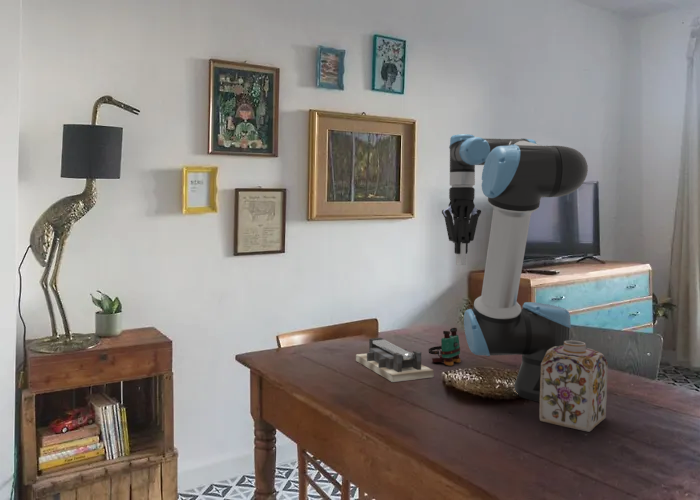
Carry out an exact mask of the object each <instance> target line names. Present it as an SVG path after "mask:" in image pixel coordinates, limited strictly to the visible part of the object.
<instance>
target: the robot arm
mask: <svg viewBox="0 0 700 500" xmlns="http://www.w3.org/2000/svg"><path fill="white" fill-rule="evenodd" d="M449 139H450V140H449V147H448V148H449V186H450V188H449V189H448V191H449V193H448V194H449V195H448V198H449V204H448V207H447V208H446V209H441V214H442V216H443V218H444V220H445V226H446V227H445V228H446V233H447V237H448V241H449V242H452V243H454V254H455V255H456V258H455V259H456V265H457V266H458V265H459V266H465V265H466V256H467V254H468V250H469V249H468V245H469V244H470V243H471V242H472V241H474V239H475V234H476V231H477V225H478V221H479V217H480V215H481V213H482V210H481V209H478V208H477V207H475V206H476V205H475V203H474V200H475V195H476V194H475V192H476V190H475V188H474V187H473V186H475V184H476V178H475V177H476V168H475V167H476V166H483V168H482V173H481V180H482V181H481V190H482V193H483V195H484V196H485V197H487V203H488V205H490V206H491V208H492V217H491V225H490V232H489V239H488V245H487V252H486V253H487V254H486V260H485V266H484V274H483V281H482V289H481V295H479V296H478V297H477V298H475V300H474V302H473V308H468V309H466V310H465V312H464V314H463V327H464V333H465V339H466V343H467V346H468V348H469V350H470V352H471V353H472V354H473V355H475V356H487V357H490V356H521V364H520V368H519V370H518V373H517V377H516V379H515V381H514V388H515V390H516V392H517V393H518V395H519V397H520V398H522V399H525V400H530V401H534V402H539V403H540V378H541V363H542V361H543V358H544V357H545V355H546V352H547V350H549V349H550V348H552V347H555V346H564V341H571V329H572V326H571V314H570V312H569V310H567V309H566V308H564V307H561V306H557V305H553V304H547V303H542V302H533V301H532V302H531V301H525V302H524V303H523V304H522V306H521V305H520V304H519V302H518V301H517V299H518V294H519V288H520V283H521V276H522V270H523V266H524V265H523V263H524V258H525V252H526V247H527V240H528V234H529V228H530V224H531V223H530V221H531V215H532V213H534V212H536V211H537V210H539V208H540V203H541V200H542V198H559V197H565V196H568V195H571V194H573V193H574V192H575V191H577V190H578V189H579V188H580V187H581V186H582V185H583V184H584V182H585V180H586V178H587V176H588V169H589V168H588V167H589V166H588V161H587V160H586V157H585V156H584V155H583V154H582V153H581V152H580V151H579V150H577V149H575V148H573V147H570V146H564V145H542V144H537V141H536V140H534V139H529V138H483V137H478V136H475V135H473V134H467V133H463V134H462V133H459V134H453V135H451V136H450V138H449ZM518 395H517V396H518Z"/></svg>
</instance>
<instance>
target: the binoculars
mask: <svg viewBox="0 0 700 500" xmlns="http://www.w3.org/2000/svg"><path fill="white" fill-rule="evenodd" d="M457 332H458V328H457V327H451V328H450V330H443V331H442V333H443V336H444V337H442V338H441V339H440V340H441V342H440V343H441V345H438V346H433V347H430V348H428V354H430V355H437V356H438V357H432V358H431V360H432V363H443V364H444V365H445V366H450V367H451V366H454V363H461V361H462V360H461V358H460V354H461V345H460V337H459V334H458V333H457ZM450 334H451V335H450Z"/></svg>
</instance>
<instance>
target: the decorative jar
mask: <svg viewBox="0 0 700 500" xmlns="http://www.w3.org/2000/svg"><path fill="white" fill-rule="evenodd" d="M608 364H609V362H608V361H607V359H606V357H605V355H604V354H603V353H602V352H600V351H598V350H596V349H593V348H588V347H587V345H586V343H585V342H583V341H580V340H570V341H564V346H555V347H552V348H550V349H549V350H547V352H546V355H545V357H544V358H543V361H542V363H541V378H540V402H539V410H538V411H539V421H540V422H543V423H547V424H551V425H554V426H555V425H556V426H559V427H563V428H569V429H570V428H571V429H575V430H579V431H583V432H588V433H590V432H591V431H593V429H595V428H596V426H599V424H600V423H601V422H602V421H604V420H605V419H606V415H607V399H608V398H607V395H608Z"/></svg>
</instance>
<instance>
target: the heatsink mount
mask: <svg viewBox="0 0 700 500" xmlns="http://www.w3.org/2000/svg"><path fill="white" fill-rule="evenodd" d="M374 340H384V338H382V337H375V338H373V337H372V338H369V339H368V341H369V345H368V347H369V350H368V352H366V353H357V354H355V362H358V363H359V364H360V365H362V366H364V367H366V368H367V369H369V370H370V371H372V372H374V373H376V374H377V375H378V376H381V377H383V379H386V380H388V381H389V382H391V383H397V382H405V381H412V380H415V381H416V380H421V379H422V380H423V379H429V378H434V374H435V373H434V372H435V370H434V369H432V368H430V367H428V366H425V365H423V364H422V352H421V351H419V350H413V351H412V353H414V354H415V359H411V360H402V355H401V354H399V353H394V355H393V354H392V353H390V352H388V351H386V350H384V349H382V348H381V347H379V346H377V345H375V344H373V341H374ZM403 349H404V350H406V351H408V350H407V349H406V348H403Z"/></svg>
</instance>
